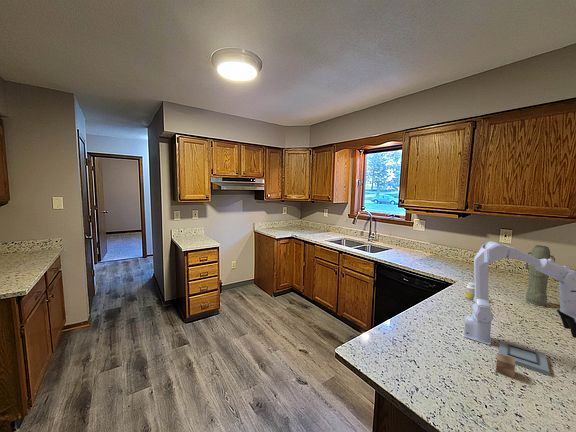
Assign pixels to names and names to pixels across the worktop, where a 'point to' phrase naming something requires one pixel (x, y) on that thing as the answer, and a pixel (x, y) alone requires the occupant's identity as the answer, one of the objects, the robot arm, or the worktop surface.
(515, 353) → the slate base plate
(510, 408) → the worktop surface
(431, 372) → the worktop surface
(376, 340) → the worktop surface
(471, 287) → the supplement bottle
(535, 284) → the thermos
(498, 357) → the walnut block
